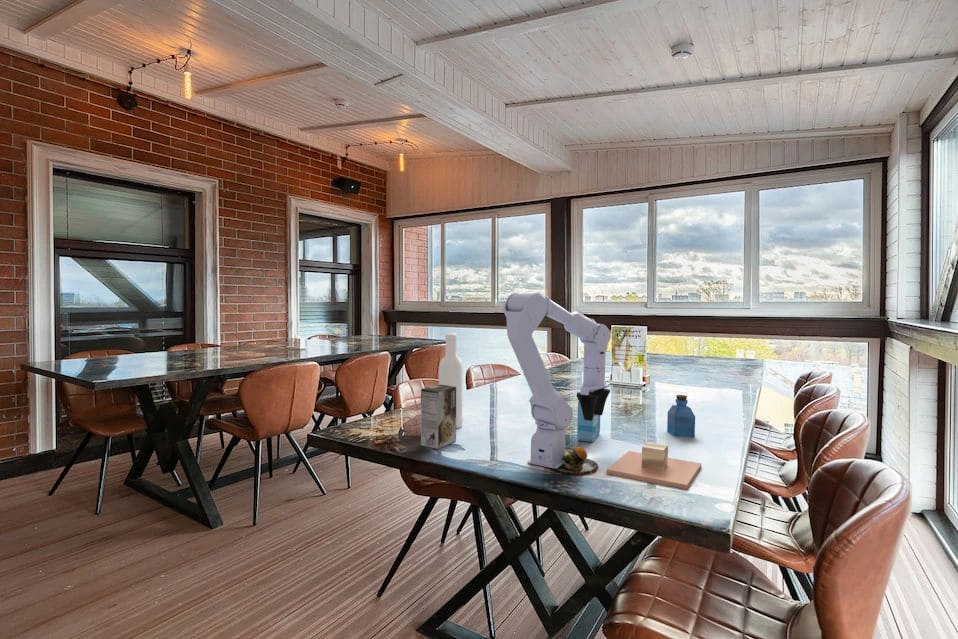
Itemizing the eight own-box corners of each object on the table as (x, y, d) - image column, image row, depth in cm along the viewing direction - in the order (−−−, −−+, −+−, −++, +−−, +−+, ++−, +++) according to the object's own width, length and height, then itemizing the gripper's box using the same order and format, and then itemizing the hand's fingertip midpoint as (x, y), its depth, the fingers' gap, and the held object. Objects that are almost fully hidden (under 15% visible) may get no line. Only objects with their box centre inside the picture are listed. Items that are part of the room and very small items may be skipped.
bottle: (434, 428, 161) (435, 334, 160) (443, 422, 168) (444, 332, 167) (458, 430, 159) (459, 335, 158) (465, 424, 166) (467, 333, 165)
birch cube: (663, 471, 119) (663, 450, 119) (641, 467, 122) (642, 446, 122) (667, 465, 123) (668, 445, 123) (646, 461, 126) (647, 441, 126)
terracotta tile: (686, 489, 110) (687, 485, 110) (606, 473, 120) (606, 469, 120) (701, 467, 125) (701, 463, 125) (628, 454, 135) (628, 450, 135)
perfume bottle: (694, 436, 154) (695, 397, 154) (674, 436, 154) (675, 397, 154) (686, 431, 160) (687, 394, 160) (667, 431, 160) (668, 393, 160)
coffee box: (438, 438, 149) (439, 383, 149) (456, 441, 146) (457, 386, 145) (419, 445, 141) (420, 388, 141) (438, 449, 138) (438, 390, 137)
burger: (555, 460, 132) (555, 432, 132) (601, 466, 128) (601, 437, 128) (544, 475, 121) (544, 444, 121) (594, 482, 117) (594, 450, 116)
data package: (592, 443, 145) (593, 402, 145) (576, 441, 147) (577, 401, 147) (600, 434, 156) (600, 395, 156) (585, 432, 158) (586, 394, 158)
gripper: (599, 371, 128) (598, 424, 129) (617, 366, 141) (616, 414, 141) (573, 369, 132) (572, 420, 133) (592, 364, 144) (592, 411, 145)
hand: (593, 417), depth 137 cm, fingers open, 7 cm apart
